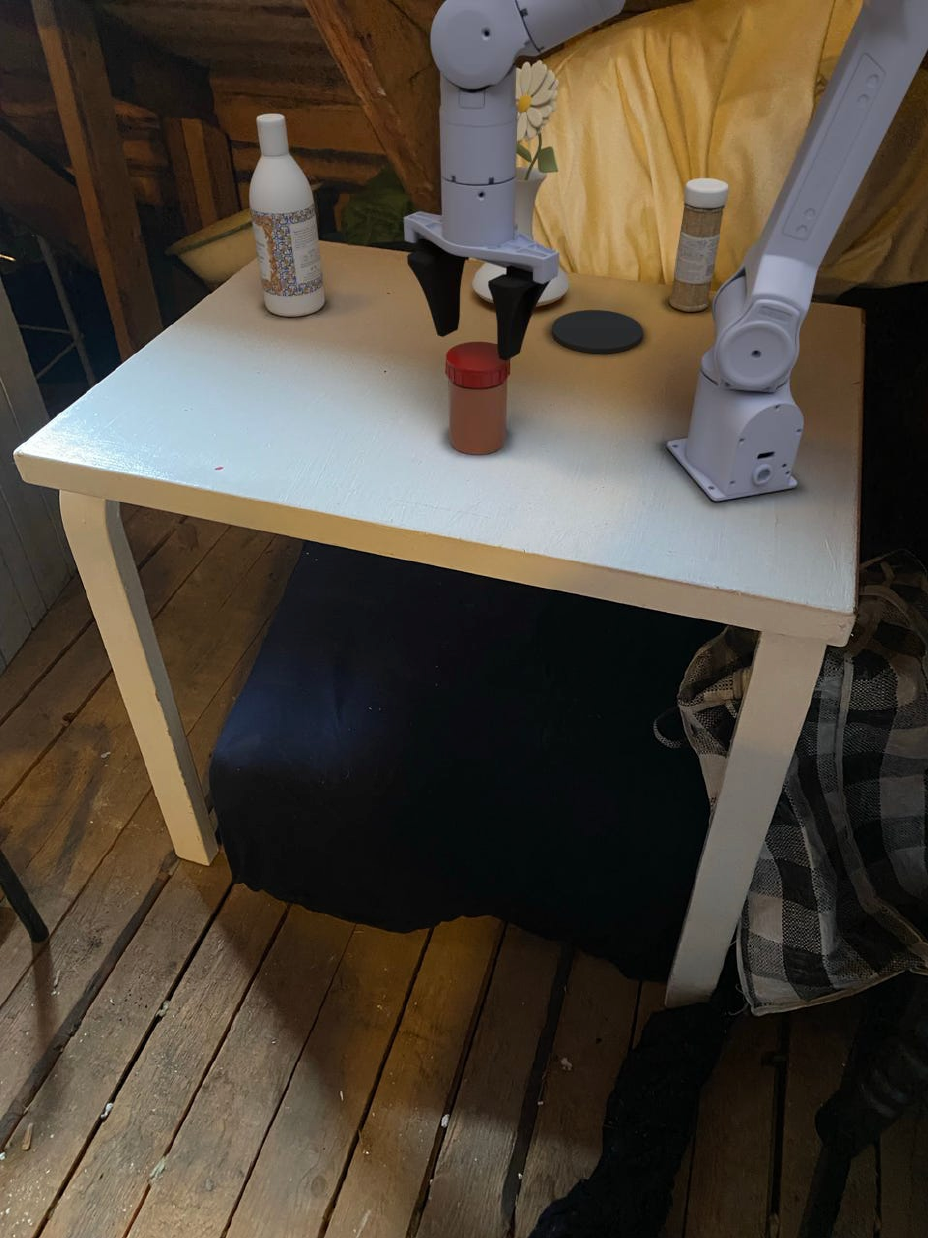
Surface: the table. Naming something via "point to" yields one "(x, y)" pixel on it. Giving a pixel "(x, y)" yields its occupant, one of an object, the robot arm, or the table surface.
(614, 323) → the coaster
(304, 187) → the bath foam
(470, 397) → the jar
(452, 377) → the lid
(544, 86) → the flower in vase
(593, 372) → the table surface
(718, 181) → the sprinkles bottle
